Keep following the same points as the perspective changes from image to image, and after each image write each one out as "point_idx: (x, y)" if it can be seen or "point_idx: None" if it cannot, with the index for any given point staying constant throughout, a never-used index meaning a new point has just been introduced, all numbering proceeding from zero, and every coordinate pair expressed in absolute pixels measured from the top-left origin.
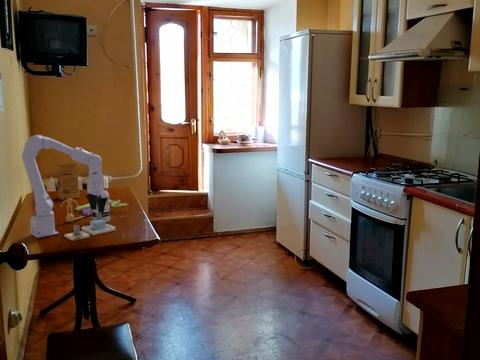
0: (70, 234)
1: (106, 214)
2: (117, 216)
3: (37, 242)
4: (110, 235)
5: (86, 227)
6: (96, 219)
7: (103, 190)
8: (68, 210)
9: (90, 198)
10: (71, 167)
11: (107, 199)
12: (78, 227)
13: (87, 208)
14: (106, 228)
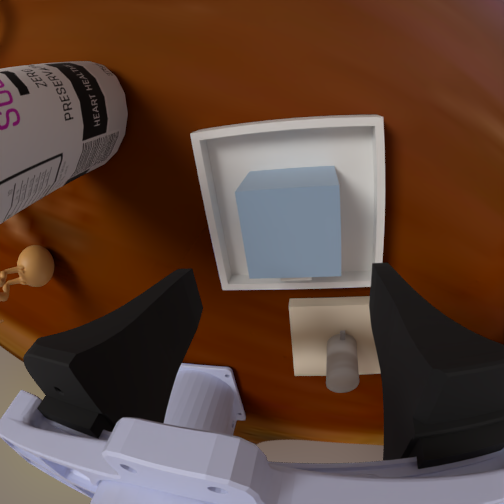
0: (313, 360)
1: (92, 95)
2: (38, 13)
3: (300, 427)
4: (454, 196)
5: (225, 261)
6: (101, 161)
7: (216, 498)
8: (8, 288)
9: (153, 413)
10: None
11: (502, 348)
12: (358, 373)
13: None
14: (301, 150)
